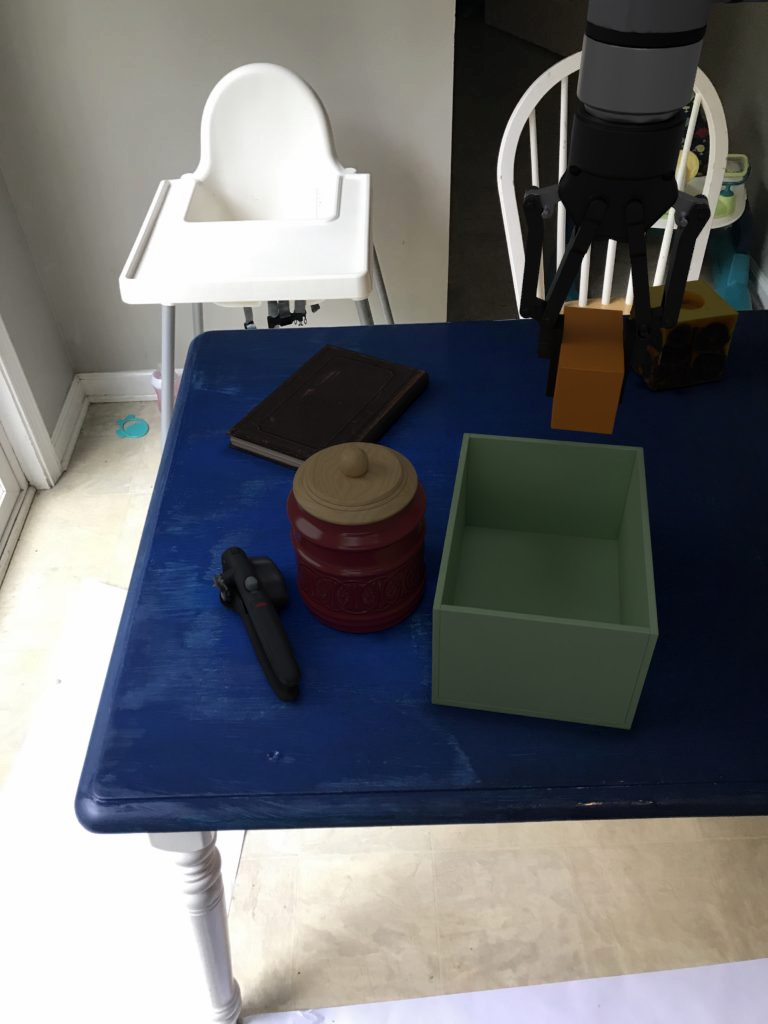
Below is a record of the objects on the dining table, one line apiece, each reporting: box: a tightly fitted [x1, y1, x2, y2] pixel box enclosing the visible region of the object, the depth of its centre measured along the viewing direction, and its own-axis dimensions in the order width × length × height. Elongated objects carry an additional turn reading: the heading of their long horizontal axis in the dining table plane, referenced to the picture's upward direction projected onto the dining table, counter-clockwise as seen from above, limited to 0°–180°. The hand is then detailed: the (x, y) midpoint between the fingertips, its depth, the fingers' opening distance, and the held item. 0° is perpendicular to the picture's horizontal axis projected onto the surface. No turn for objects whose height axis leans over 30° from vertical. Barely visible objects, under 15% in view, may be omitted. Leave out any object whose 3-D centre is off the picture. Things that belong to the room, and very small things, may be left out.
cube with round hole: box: [628, 279, 740, 392], centre depth 109 cm, size 10×10×10 cm
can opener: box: [212, 546, 302, 702], centre depth 78 cm, size 18×7×6 cm, turn 22°
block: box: [550, 305, 624, 435], centre depth 71 cm, size 5×10×6 cm, turn 169°
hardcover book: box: [225, 343, 430, 471], centre depth 106 cm, size 16×23×2 cm
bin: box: [431, 432, 660, 730], centre depth 77 cm, size 17×23×13 cm
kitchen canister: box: [285, 442, 428, 634], centre depth 79 cm, size 13×13×18 cm
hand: (583, 390), depth 72 cm, fingers closed on block, 5 cm apart
